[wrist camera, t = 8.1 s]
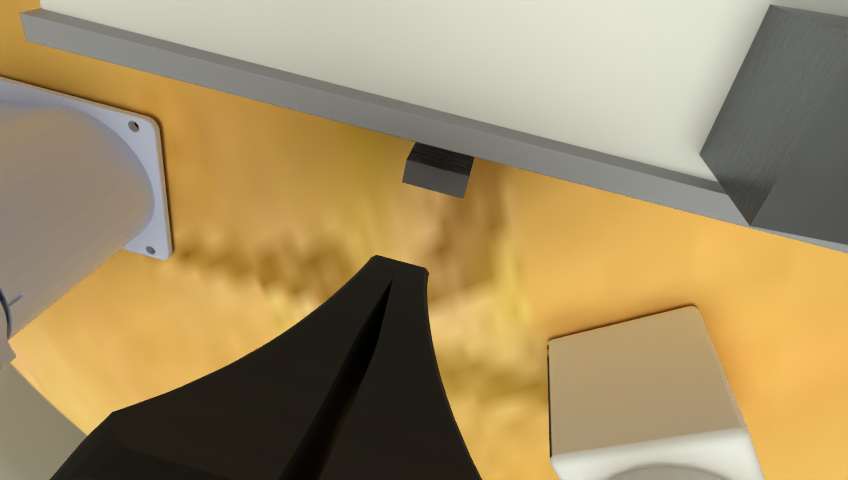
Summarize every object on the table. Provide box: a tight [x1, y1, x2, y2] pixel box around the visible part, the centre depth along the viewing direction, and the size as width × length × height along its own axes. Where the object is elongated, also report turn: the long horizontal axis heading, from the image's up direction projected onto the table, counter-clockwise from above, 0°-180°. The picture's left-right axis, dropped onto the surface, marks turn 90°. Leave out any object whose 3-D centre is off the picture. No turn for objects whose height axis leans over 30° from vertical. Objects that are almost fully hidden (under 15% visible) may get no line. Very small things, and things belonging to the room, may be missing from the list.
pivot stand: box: [402, 142, 474, 198], centre depth 16 cm, size 8×10×6 cm
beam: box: [20, 0, 848, 253], centre depth 14 cm, size 26×7×5 cm, turn 79°
